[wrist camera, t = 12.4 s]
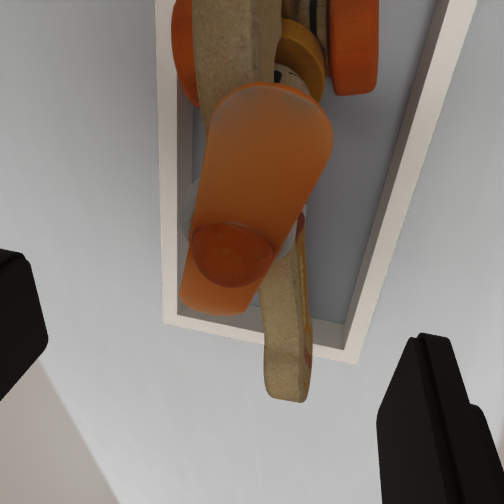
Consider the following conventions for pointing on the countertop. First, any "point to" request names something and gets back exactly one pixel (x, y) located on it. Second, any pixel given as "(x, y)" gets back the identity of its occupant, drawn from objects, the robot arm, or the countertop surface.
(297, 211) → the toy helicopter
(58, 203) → the countertop surface
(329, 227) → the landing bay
